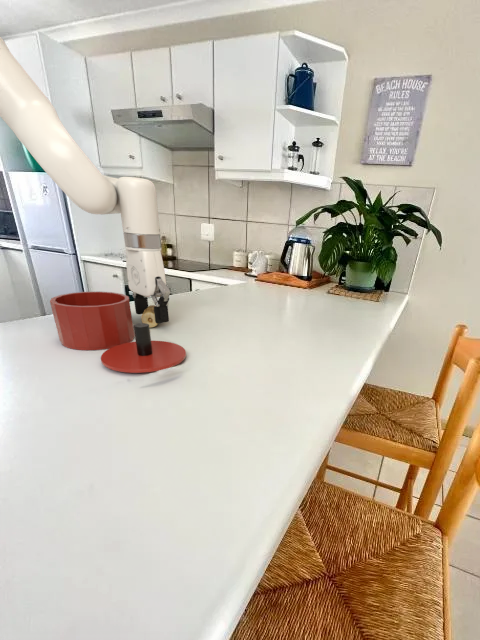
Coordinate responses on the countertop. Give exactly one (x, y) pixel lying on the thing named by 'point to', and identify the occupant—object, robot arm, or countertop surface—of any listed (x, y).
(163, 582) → the countertop surface
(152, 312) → the tan cylinder with hole
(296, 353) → the countertop surface
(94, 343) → the pot
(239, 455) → the countertop surface
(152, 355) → the lid
